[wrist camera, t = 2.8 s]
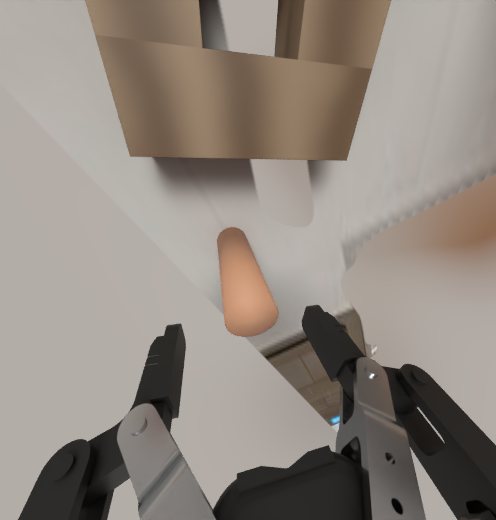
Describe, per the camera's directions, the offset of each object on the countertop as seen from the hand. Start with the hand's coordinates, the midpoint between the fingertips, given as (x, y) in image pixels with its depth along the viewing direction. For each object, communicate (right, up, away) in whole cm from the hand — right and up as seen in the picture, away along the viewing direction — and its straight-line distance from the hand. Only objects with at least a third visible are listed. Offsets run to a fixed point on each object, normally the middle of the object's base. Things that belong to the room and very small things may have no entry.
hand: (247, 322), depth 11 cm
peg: (-2, +6, +10) cm, 12 cm away
